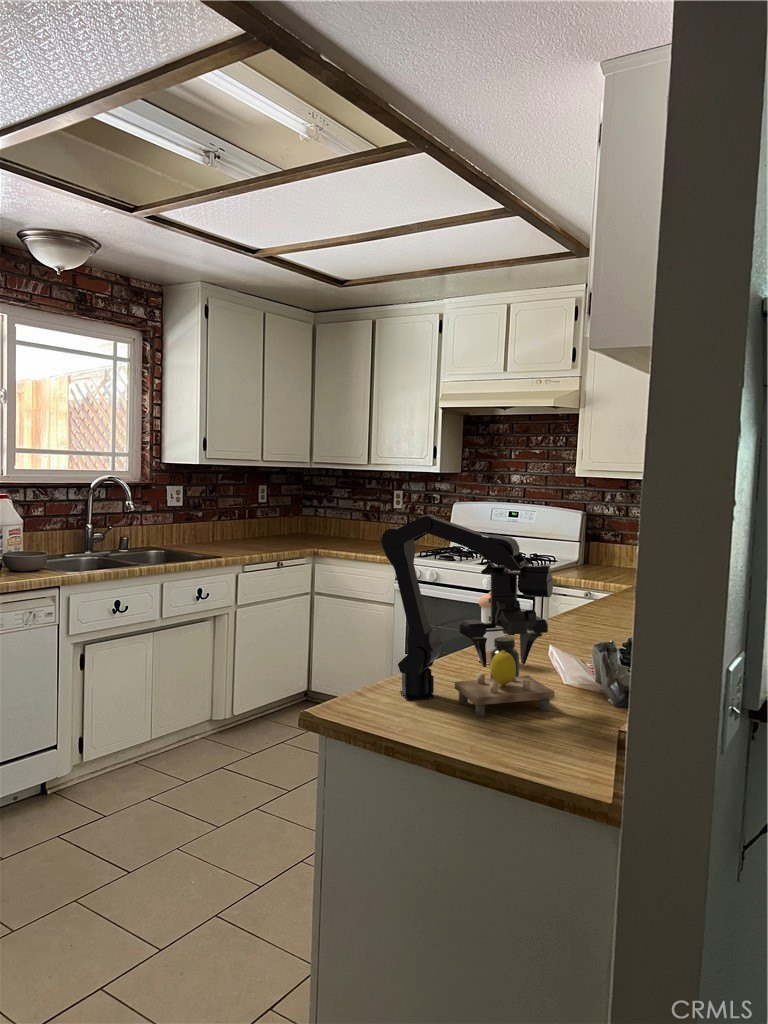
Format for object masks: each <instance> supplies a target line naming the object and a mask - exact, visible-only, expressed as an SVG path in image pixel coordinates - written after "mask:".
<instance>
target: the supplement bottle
mask: <svg viewBox="0 0 768 1024" xmlns="http://www.w3.org/2000/svg"><path fill="white" fill-rule="evenodd" d="M515 643H516V642H515V638H514V637H510V636H509V637H508V636H504V637H498V638H495V639H494V647H495V649H494V650H492V651H491V654H490V668H489V669H490V671H491V662H492V659H493V657H494V656H495V655H496V654H497V653H499V652H501V651H502V650H504V651H505V652H507V653H509V654H510V655H511V656H512V657H513V658H514V660H515V664H516V677H520V653H519V651H518V650H517V649H515V647H516V644H515ZM490 679H493V677H492V675H491V674H490Z"/></svg>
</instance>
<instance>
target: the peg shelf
mask: <svg viewBox="0 0 768 1024" xmlns="http://www.w3.org/2000/svg"><path fill="white" fill-rule="evenodd" d="M485 677H486V674H485V673H477V679H473V680H463V681H454V689H455V690H456V691H458V703H459V704H460V703H461V704H460V705H468V704H469V701H470V702H472V703H473V704H474V705H475V706H474V708H475V709H474V711H475V712H474V715H475V718H478V719H483V718H485V717H486V710H485V709H486V705H491V704H493V705H494V704H505V703H515V702H516V703H517V702H526V701H527V702H528V701H538V700H539V701H540V702H539V707H540V709H539V711H540V712H542V713H543V712H544V713H548V712H551V711H550V702H551V701H550V699H555V690H553V689H551V688H550V687H548V686H546V685H545V684H543V683H542V682H540V681H539V680H536V679H534V678H532V677H531V676H530V675H522V676H520V675H519V677H516V674H515V677H514V679H513V680H512V681H511V682H510V683H507V684H506V685H505V686H502V685H501V684H500V683H498V682H496V681H495V680H494V679H491V678H488V679H487V678H485Z"/></svg>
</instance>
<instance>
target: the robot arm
mask: <svg viewBox="0 0 768 1024" xmlns="http://www.w3.org/2000/svg"><path fill="white" fill-rule="evenodd" d="M381 535H382V536H380V546H381V548H382V550H383V551H384V554H385V557H386V559H387V561H389V563H390V564H391V566H392V567H393V569H394V573H395V577H396V583H397V586H398V589H399V594H400V597H401V602H402V603H401V604H402V607H403V610H404V614H405V618H406V623H407V628H408V629H407V635H406V636H407V637H406V651H407V655H405V656H404V658H403V659H401V660H400V661H398V663H397V666H398V669H399V673H400V674H401V690H402V691H401V690H400V691H399V693H400V692H401V693H402V694H403V695H404V696H405V697H406V699H416V700H420V699H419V698H428V699H434V698H435V695H434V691H435V690H434V685H435V683H434V682H435V681H434V675H432V669H431V668H430V667H432V666H433V664H434V662H435V660H437V659H438V658H439V656H440V655H441V652H442V646H443V645H444V644H443V642H442V640H441V637H440V630H439V628H435V629H433V628H432V626H431V625H430V624H429V621H428V616H427V615H426V610H425V606H424V601H423V597H422V592H421V588H420V585H419V579H418V576H417V572H416V569H415V556H416V543H415V542H416V541H418V540H420V539H422V538H424V537H426V536H427V535H431V536H434V537H438V538H441V539H443V540H446V541H448V542H451V543H453V544H456V545H459V546H462V547H464V548H467V549H469V550H472V551H474V552H476V553H477V554H478V555H480V556H481V557H482V558H483V559H485V560H487V561H489V562H488V563H487V565H486V566H485V567H484V568H483V569H482V570H481V571H480V573H481V574H482V575H490V592H491V598H489V603H491V616H489V621H490V622H491V623H483V622H481V621H480V620H479V619H465V620H464V619H463V620H462V621H461V622H460V623H459V633H460V634H461V635H463V636H465V637H466V638H467V639H470V640H471V642H472V644H473V646H474V648H475V650H476V653H477V657H478V656H479V658H480V661H481V663H480V664H481V665H482V667H483V668H486V667H487V664H486V641H487V638H485V637H484V635H485V634H486V632H492V631H503V632H505V634H506V635H507V636H515V635H519V646H520V647H519V648H520V650H519V651H520V653H519V657H520V662H521V664H522V665H525V664H526V662H527V660H528V656H529V655H530V651H531V649H532V646H533V644H534V642H535V641H536V640H537V639H538V638H539V637H540V638H541V637H542V636H543V634H547V633H548V632H549V624H548V621H547V620H546V619H545V618H542V617H541V616H537V612H536V611H535V609H526V610H521V604H520V600H518V592H519V593H521V594H522V596H523V597H533V598H535V597H536V598H551V597H552V595H553V591H554V590H553V589H554V579H553V575H552V572H551V566H550V565H546V564H545V565H530V564H529V563H528V562H527V560H526V558H525V557H524V556H523V555H522V553H521V551H520V546H519V543H518V542H517V540H516V539H515V538H513V537H511V536H505V535H499V534H490V533H489V534H488V533H484V532H479V531H477V530H473V529H471V528H468V527H465V526H462V525H459V524H456V523H454V522H451V521H449V520H445V519H442V518H440V517H438V516H436V515H435V514H425V515H424V514H423V515H421V516H420V517H419V518H417V519H415V520H413V521H411V522H409V523H407V524H405V525H402V526H398V527H397V526H396V527H392V528H388V529H386V530H385V531H384V532H383V534H381ZM496 626H498V627H496ZM499 626H500V627H499ZM401 693H400V694H401ZM402 694H401V695H402ZM403 695H402V696H403ZM430 697H431V698H430ZM433 697H434V698H433ZM406 699H405V700H406Z"/></svg>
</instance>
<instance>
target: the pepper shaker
mask: <svg viewBox="0 0 768 1024" xmlns="http://www.w3.org/2000/svg"><path fill="white" fill-rule="evenodd" d="M489 598H491V591H489V592H488V593H486V594H483V595H481V596H480V597H479V599H478V605H479V606H480V607H481V610H480V611H481V616H480V617H481V618H480V620H481V622H483V623H491V622H490V621H489V616H491V603H489ZM496 627H498V626H496ZM499 627H500V626H499ZM484 637H485V638H487V641H486V663H489V664H490V654H491V651H492V650H494V649H495V647H494V639H495V638H498V637H505V635H504V631H492V632H486V634H485V635H484ZM478 660H479V661H480V658H479V656H478V655H477V661H478Z"/></svg>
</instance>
